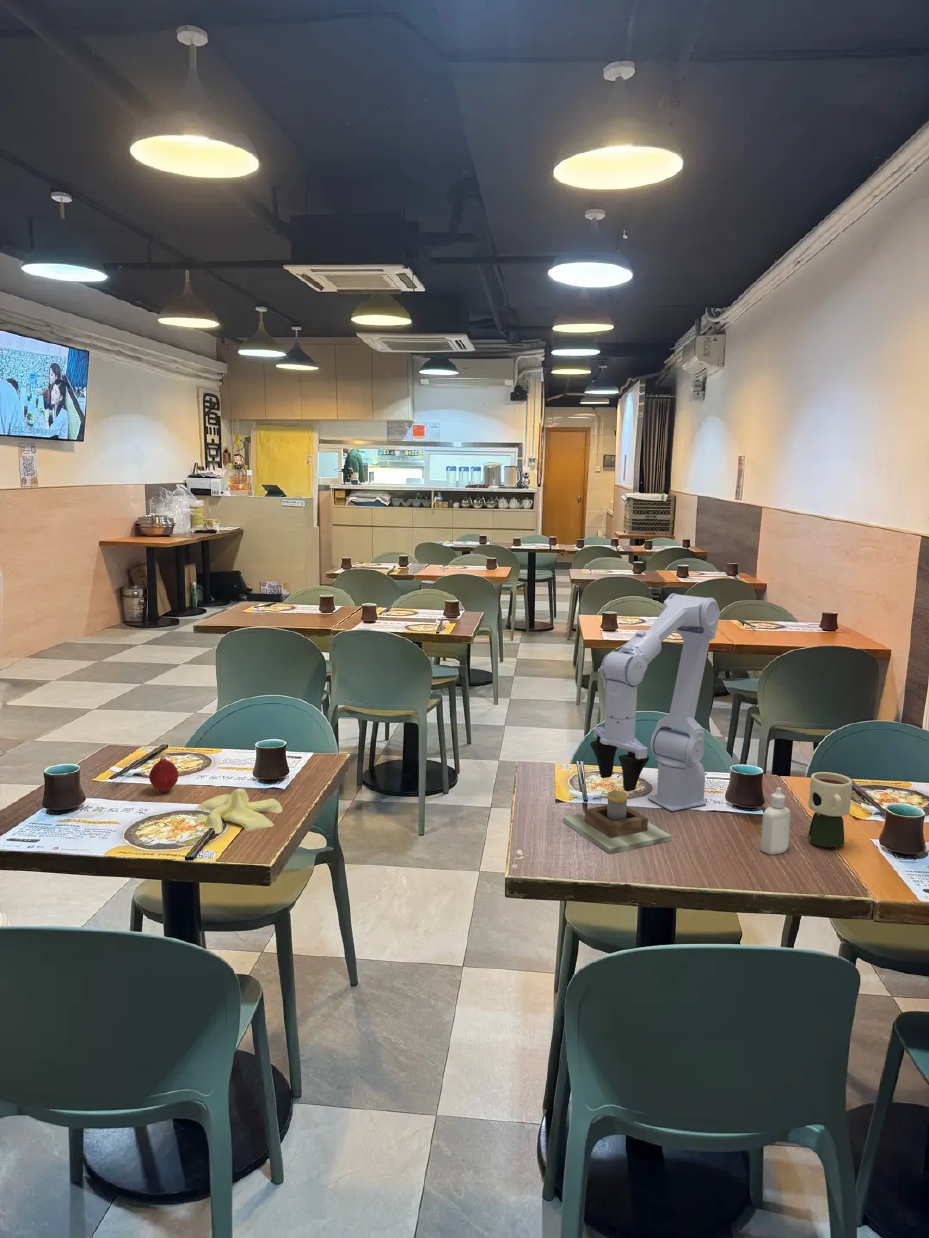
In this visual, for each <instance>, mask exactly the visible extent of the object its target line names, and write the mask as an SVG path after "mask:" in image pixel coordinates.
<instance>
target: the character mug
mask: <svg viewBox="0 0 929 1238" xmlns="http://www.w3.org/2000/svg"><path fill="white" fill-rule="evenodd" d="M852 790H853V780H852V779H851V778H850V777H849V776H846V775H845V774H844V775H843V774H841V773H835V772H831V771H830V772H827V771H819V772H818V771H817V772H814V773H812V774H811V775H810V783H809V797H808V808H809V809H810V810H811V811H813V812H814V813H813V815H812V819H811V822H810V825H809V829H808V835H807V839H809V842H810V843H812V844H813V845H816V846H819V847H822V848H823V847H824V848H825V847H826V848H830V847H831V848H832V847H837V848H838V847H843V846H844V845H845V825H844V818H843V816H847V815H849V814H850V811H851V801H852V792H853V791H852Z"/></svg>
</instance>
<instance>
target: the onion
mask: <svg viewBox="0 0 929 1238" xmlns="http://www.w3.org/2000/svg"><path fill="white" fill-rule="evenodd" d="M159 759H160V760H159V761H158V762H156V763H155V764H154V765H153V766H152V768H151V770H150V772H149V777H148V778H149V783H150V784H151V785H152V787H153V788H155V789H156V790H158V791H159V792H161V793H163V792H165V793H168V792H169V790H170V789H172V788H173V787H174V786H175V785H176V784H177V782H178V779H179V771H178V768H177V766H176V765H175V764H174V763H173V762H171V761H169V760H167V759H166V757H165V756H163V755H161V756H160V758H159Z"/></svg>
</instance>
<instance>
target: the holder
mask: <svg viewBox="0 0 929 1238" xmlns="http://www.w3.org/2000/svg"><path fill="white" fill-rule="evenodd" d="M607 808H608V804H607V805H602V806H596V807H591V808H586V809H585V810H584V812H583V813H582V812H581V813H576V814H571V815H566V816H562V823H564V824H565V825H567V826H568V827H570V828H571V829H573V830H574V831H576V832H577V833H579V835H581V836H582V837H584V838H586V839H587V840H589V841H590V842H592V843H593V844H594V845H596V846H597V847H598V848H600V849H602V850H603V851H605V852H606V853H607V854H609V855H611V854H616V852H617V853H622V852H625V851H630V850H634V849H639V848H643V847H645V848H646V847H648V846H653V845H658V844H663V843H667V842H671V841H672V835H671V834H669V833H668V832H666V831H664V830H662V829H660V828H658V827H657V826H655V824H653V823H650V822H649V818H648V817H646V816H645V815H643V814H642V813H640V812H638V811H636V810H634V809H632V808H631V807H629V806H628V805H627V807H626V819H623V820H618V821H611V820H609V819H608V818H607Z"/></svg>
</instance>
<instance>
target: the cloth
mask: <svg viewBox="0 0 929 1238" xmlns="http://www.w3.org/2000/svg"><path fill="white" fill-rule="evenodd" d="M246 791H247V790H246V789H245V788H242V787H241V788H236V789H234V790H233V791H232V792H231V794H227V793H226V794H220V795H217V796H214V797H212V798H209V799H207V800H204V801H202V802H201V803H200V804H198V806H197V807H196V808H195V810H197V809H205V810H204V811H207V810H209V811H208V812H209V814H208V815H203V814H198V816H197V818H196V819H195V820H194V823H195V824H196V825H199V824H200V823H202V822H204V821H205V820H206V822H205V826H206V830H207V829H209V828H214V831H215V834H214V835H216V834H221V833H222V832H223V822H228V823H234V824H237V825H240V826H242V827H243V829H244V830H245V831H246V832H253V831H257V830H263V829H268V828H272V827H274V826H275V824H274V823H273V822H272V821H271V820H270V819H268V817H266V816H265V815H264V814H262V813H270V812H272V813H274V814H280V813H282V812H283V807H282V805H281V804H280V802H279V801H278V800H276V799H275V798H273V797H272V798H268V799H263V800H257V801H251V802H250V801H249V799H250V797H249V796H248V793H247V792H246ZM221 817H223V819H224V821H222V820H221Z"/></svg>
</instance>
